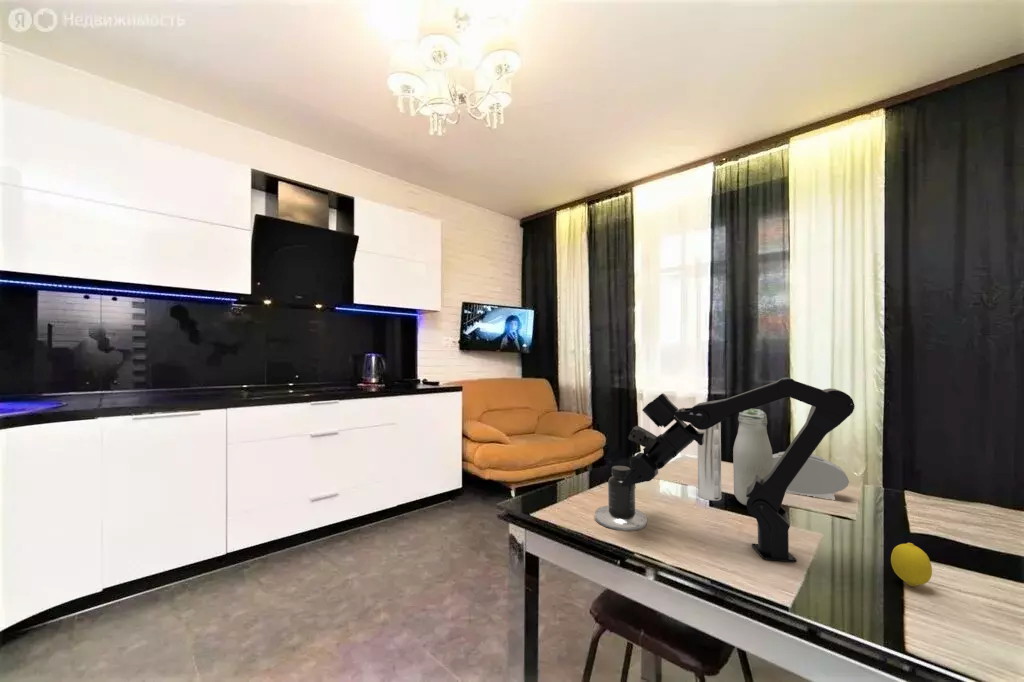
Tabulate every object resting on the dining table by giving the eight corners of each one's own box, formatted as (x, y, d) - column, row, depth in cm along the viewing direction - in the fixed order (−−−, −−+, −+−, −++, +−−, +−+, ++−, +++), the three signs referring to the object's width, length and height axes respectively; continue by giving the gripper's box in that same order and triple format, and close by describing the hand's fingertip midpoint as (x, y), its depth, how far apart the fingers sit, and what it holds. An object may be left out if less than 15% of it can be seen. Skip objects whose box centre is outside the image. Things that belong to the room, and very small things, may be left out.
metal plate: (650, 532, 99) (650, 526, 99) (596, 528, 101) (596, 522, 101) (642, 512, 111) (642, 506, 111) (594, 509, 113) (594, 503, 114)
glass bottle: (734, 508, 115) (732, 409, 116) (733, 497, 124) (732, 405, 125) (775, 515, 110) (773, 411, 111) (771, 503, 119) (770, 407, 120)
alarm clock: (846, 497, 125) (845, 455, 125) (849, 503, 119) (848, 460, 120) (758, 484, 137) (758, 446, 138) (757, 489, 132) (757, 449, 133)
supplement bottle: (626, 508, 110) (626, 463, 111) (640, 518, 104) (640, 470, 104) (603, 510, 109) (603, 465, 109) (616, 520, 102) (616, 472, 103)
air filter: (699, 499, 122) (698, 415, 123) (696, 492, 128) (695, 413, 129) (723, 501, 120) (722, 417, 121) (719, 494, 126) (718, 414, 127)
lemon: (910, 578, 79) (909, 536, 80) (941, 594, 74) (940, 549, 74) (883, 578, 79) (882, 536, 79) (912, 595, 74) (911, 550, 74)
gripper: (656, 412, 111) (617, 448, 116) (638, 421, 95) (594, 462, 101) (688, 444, 107) (646, 480, 112) (675, 459, 91) (626, 500, 96)
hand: (628, 479), depth 105 cm, fingers open, 9 cm apart
